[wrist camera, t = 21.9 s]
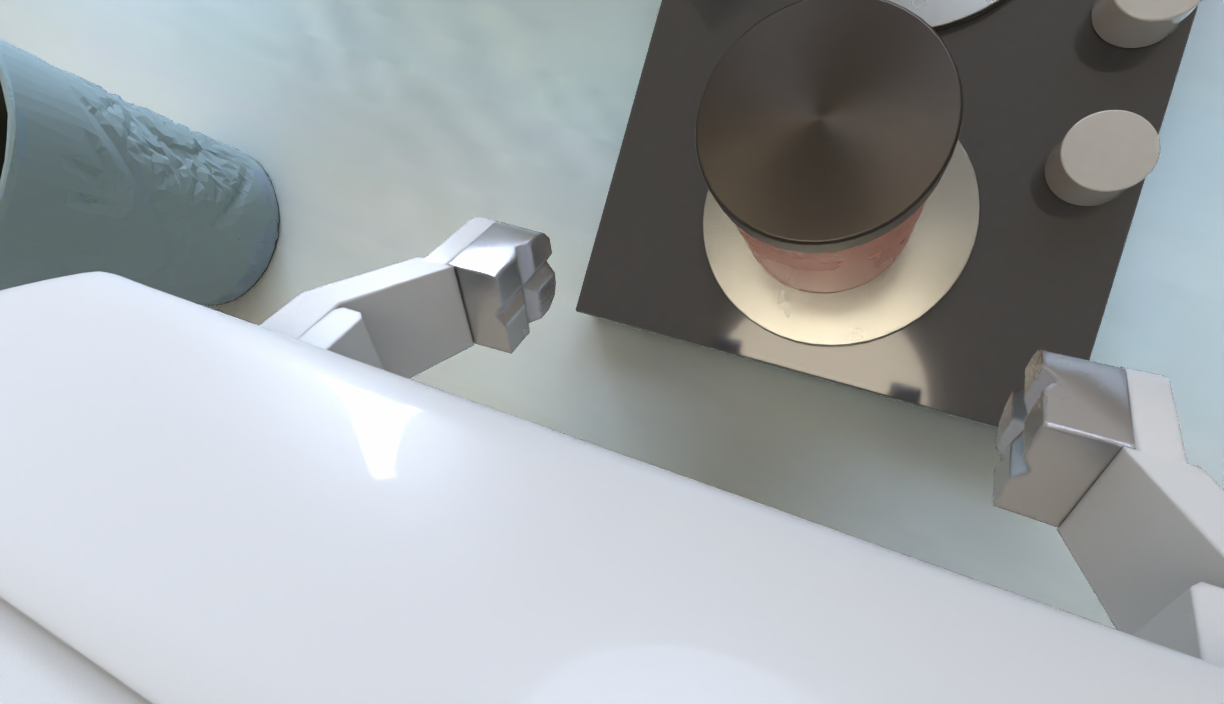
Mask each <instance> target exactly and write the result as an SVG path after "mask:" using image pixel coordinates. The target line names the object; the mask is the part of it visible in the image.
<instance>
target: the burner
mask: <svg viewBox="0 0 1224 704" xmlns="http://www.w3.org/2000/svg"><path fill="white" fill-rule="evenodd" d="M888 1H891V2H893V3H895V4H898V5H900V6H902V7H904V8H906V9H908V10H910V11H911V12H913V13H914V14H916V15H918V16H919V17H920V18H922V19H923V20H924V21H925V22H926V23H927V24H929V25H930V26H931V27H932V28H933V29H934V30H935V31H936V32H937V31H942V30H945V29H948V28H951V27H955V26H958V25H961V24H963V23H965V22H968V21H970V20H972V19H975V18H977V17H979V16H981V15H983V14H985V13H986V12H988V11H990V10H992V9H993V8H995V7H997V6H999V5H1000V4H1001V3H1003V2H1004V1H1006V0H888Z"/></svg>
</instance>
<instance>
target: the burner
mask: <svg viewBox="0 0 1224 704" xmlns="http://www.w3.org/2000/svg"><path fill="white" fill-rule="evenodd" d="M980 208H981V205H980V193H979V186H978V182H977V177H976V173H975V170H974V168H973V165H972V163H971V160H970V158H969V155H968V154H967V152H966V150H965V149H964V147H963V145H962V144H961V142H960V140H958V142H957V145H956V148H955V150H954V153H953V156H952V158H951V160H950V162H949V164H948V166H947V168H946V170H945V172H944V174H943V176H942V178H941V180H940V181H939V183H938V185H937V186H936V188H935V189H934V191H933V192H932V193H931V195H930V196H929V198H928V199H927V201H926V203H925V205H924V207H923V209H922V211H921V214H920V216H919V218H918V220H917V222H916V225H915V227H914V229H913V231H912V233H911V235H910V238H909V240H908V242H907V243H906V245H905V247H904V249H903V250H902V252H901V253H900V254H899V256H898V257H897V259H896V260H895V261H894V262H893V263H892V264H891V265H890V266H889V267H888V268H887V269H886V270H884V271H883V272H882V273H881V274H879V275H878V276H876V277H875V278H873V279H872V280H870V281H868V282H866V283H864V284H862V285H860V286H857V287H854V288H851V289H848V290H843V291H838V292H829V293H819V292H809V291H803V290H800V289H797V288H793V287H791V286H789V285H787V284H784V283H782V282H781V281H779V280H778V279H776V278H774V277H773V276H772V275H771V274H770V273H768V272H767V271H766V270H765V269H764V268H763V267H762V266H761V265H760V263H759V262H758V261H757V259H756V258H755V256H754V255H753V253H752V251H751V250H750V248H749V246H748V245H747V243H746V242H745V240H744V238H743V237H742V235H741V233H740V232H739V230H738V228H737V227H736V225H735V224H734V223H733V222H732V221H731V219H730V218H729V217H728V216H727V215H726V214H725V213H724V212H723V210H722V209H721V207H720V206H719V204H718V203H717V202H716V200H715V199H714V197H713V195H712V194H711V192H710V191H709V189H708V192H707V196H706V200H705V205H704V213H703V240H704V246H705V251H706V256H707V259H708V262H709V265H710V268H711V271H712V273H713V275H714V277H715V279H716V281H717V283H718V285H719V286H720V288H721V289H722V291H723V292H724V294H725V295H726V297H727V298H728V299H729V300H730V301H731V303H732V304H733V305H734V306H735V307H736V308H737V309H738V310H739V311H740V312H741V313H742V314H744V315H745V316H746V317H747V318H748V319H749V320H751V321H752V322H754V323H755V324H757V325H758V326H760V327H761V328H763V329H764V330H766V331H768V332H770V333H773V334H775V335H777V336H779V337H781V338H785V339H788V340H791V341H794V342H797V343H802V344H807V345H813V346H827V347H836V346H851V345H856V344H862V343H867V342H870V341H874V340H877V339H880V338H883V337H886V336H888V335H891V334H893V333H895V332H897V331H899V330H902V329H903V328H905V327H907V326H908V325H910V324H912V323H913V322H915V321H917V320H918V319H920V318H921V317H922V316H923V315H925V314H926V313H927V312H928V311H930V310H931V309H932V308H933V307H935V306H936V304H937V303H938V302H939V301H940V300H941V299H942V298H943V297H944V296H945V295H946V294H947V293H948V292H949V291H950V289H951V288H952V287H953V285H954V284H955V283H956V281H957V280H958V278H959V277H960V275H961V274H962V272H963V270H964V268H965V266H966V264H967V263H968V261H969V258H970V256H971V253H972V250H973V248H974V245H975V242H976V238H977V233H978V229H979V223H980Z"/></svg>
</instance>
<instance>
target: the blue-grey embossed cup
mask: <svg viewBox="0 0 1224 704" xmlns="http://www.w3.org/2000/svg"><path fill="white" fill-rule="evenodd" d="M278 213H279V210H278V205H277V201H276V195H275V192H274V189H273V187H272V184H271V180H270V179H268V175H267V173H266V172H265V170H264V169H263V168H262V167H261V166H260V165H259V164H258V163H257V162H256V161H255V160H253V159H252V158H251V157H249V156H248V155H247V154H245V153H243V152H241V151H239V150H237V149H235V148H233V147H230V146H228V145H226V144H224V143H221V142H218V141H215V140H213V139H211V138H209V137H207V136H205V135H203V134H201V133H199V132H192V131H190V130H189V128H188V127H186V126H184V125H181V124H176V123H174V122H173V121H172V120H170V119H168V118H166V117H164V116H162V115H158V114H156V113H154V112H153V111H151V110H149V109H147V108H143V107H139V106H136V105H134V104H130V103H126V102H125V101H124V100H123V99H122V98H121V97H120V96H119V95H116V94H110V93H108V92H107V91H106V90H104V89H103V88H102V87H101V86H98V85H95V84H94V83H92V82H90V81H87V80H85V79H83V78H81V77H79V76H76V75H74V74H72V73H69V72H66V71H64V70H61V69H58V68H56V67H54V66H52V65H50V64H48V63H47V62H45V61H44V60H42V59H40V58H38V57H37V56H35V55H33V54H31V53H28V52H26V51H24V50H22V49H20V48H18V47H16V46H14V45H12V44H10V43H8V42H6V41H4V40H1V39H0V290H4V289H8V288H12V287H16V286H21V285H25V284H30V283H34V282H38V281H43V280H47V279H52V278H57V277H62V276H68V275H74V274H80V273H87V272H97V271H100V272H108V273H112V274H116V275H119V276H122V277H125V278H127V279H130V280H133V281H135V282H138V283H140V284H143V285H146V286H148V287H151V288H154V289H157V290H160V291H163V292H165V293H168V294H171V295H174V296H177V297H179V298H182V299H185V300H188V301H191V302H194V303H196V304H200V305H212V304H220V303H225V302H229V301H232V300H234V299H236V298H237V297H239V296H241V295H243V294H244V293H245V292H246V291H248V290H249V289H250V288H251V287H252V286H253V285H254V284H255V283H256V282H257V280H258V279H259V278H260V276H261V275H262V274H263V272H264V271H265V269H266V268H267V266H268V263H269V261H270V258H271V256H272V253H273V251H274V248H275V241H276V240H277V239H278V227H277V225H278V223H279V218H278Z"/></svg>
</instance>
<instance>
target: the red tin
mask: <svg viewBox="0 0 1224 704" xmlns="http://www.w3.org/2000/svg"><path fill="white" fill-rule="evenodd" d="M963 109H964V100H963V87H962V83H961V78H960V74H959V70H958V68H957V65H956V63H955V60H954V58H953V56H952V54H951V52H950V50H949V49H948V47H947V46H946V44H945V42H944V41H943V40H942V38H941V37H940V36H939V35H938V34H937V33H936V31H935V30H934V29H933V28H932V27H931V26H930V25H929V24H927V23H926V22H925V21H924V20H923V19H922V18H920V17H919V16H918V15H916V14H914V13H913V12H911V11H910V10H908V9H906V8H904V7H902V6H900V5H898V4H895V3H893V2H891V1H888V0H802V1H800V2H797V3H794V4H791V5H788V6H786V7H784V8H782V9H780V10H778V11H776V12H774V13H772V14H770V15H769V16H767V17H765V18H764V19H762V20H761V21H759V22H757V23H756V24H755V25H754V26H752V27H751V28H750V29H748V30H747V31H746V32H745V33H744V34H743V35H741V36H740V37H739V38H738V39H737V40H736V41H735V42H734V43H733V44H732V45H731V47H730V48H729V49H728V50H727V52H726V53H725V54H724V55H723V56H722V58H721V59H720V61H719V62H718V64H717V65H716V67H715V68H714V70H713V72H712V74H711V76H710V78H709V80H708V82H707V84H706V86H705V88H704V91H703V94H702V97H701V99H700V102H699V107H698V111H697V116H696V125H695V148H696V154H697V159H698V164H699V167H700V170H701V173H702V176H703V179H704V181H705V183H706V185H707V187H708V189H709V191H710V192H711V194H712V195H713V197H714V199H715V200H716V202H717V203H718V204H719V206H720V207H721V209H722V210H723V212H724V213H725V214H726V215H727V216H728V217H729V218H730V219H731V221H732V222H733V223H734V224H735V225H736V227H737V228H738V230H739V232H740V233H741V235H742V237H743V238H744V240H745V242H746V243H747V245H748V246H749V248H750V250H751V251H752V253H753V255H754V256H755V258H756V259H757V261H758V262H759V263H760V265H761V266H762V267H763V268H764V269H765V270H766V271H767V272H768V273H770V274H771V275H772V276H773V277H774V278H776V279H778V280H779V281H781V282H782V283H784V284H787V285H789V286H791V287H793V288H797V289H800V290H803V291H809V292H819V293H829V292H838V291H843V290H848V289H851V288H854V287H857V286H860V285H862V284H864V283H866V282H868V281H870V280H872V279H873V278H875V277H876V276H878V275H879V274H881V273H882V272H883V271H884V270H886V269H887V268H888V267H889V266H890V265H891V264H892V263H893V262H894V261H895V260H896V259H897V257H898V256H899V254H900V253H901V252H902V250H903V249H904V247H905V245H906V243H907V242H908V240H909V238H910V235H911V233H912V231H913V229H914V227H915V225H916V222H917V220H918V218H919V216H920V214H921V211H922V209H923V207H924V205H925V203H926V201H927V199H928V198H929V196H930V195H931V193H932V192H933V191H934V189H935V188H936V186H937V185H938V183H939V181H940V180H941V178H942V176H943V174H944V172H945V170H946V168H947V166H948V164H949V162H950V160H951V158H952V156H953V153H954V150H955V148H956V145H957V142H958V140H959V135H960V131H961V126H962V122H963Z"/></svg>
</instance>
